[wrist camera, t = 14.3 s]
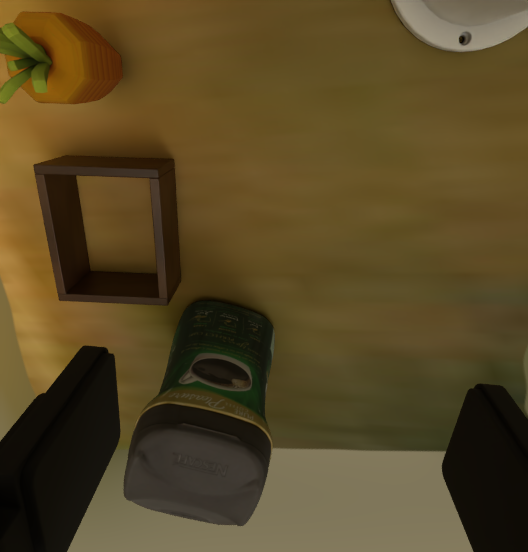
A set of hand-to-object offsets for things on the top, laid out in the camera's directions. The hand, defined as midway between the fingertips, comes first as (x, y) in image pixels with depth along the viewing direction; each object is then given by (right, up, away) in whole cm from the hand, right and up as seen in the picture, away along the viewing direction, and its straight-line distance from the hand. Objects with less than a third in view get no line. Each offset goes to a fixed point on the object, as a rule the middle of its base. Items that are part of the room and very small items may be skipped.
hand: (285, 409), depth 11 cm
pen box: (-13, +8, +27) cm, 31 cm away
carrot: (-12, +20, +22) cm, 32 cm away
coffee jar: (-4, -2, +31) cm, 32 cm away
